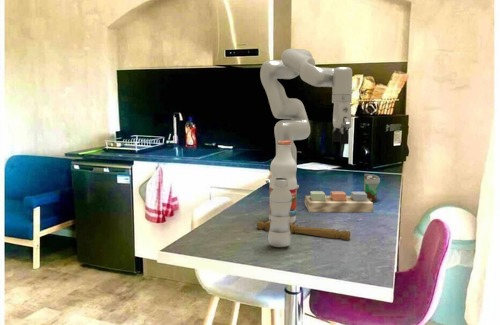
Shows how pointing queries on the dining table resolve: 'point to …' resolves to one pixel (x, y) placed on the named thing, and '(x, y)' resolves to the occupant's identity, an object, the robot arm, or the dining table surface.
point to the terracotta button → (338, 196)
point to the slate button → (358, 196)
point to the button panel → (338, 205)
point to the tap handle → (310, 231)
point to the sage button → (317, 196)
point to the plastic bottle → (280, 214)
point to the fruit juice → (284, 174)
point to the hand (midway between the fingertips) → (340, 142)
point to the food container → (371, 186)
